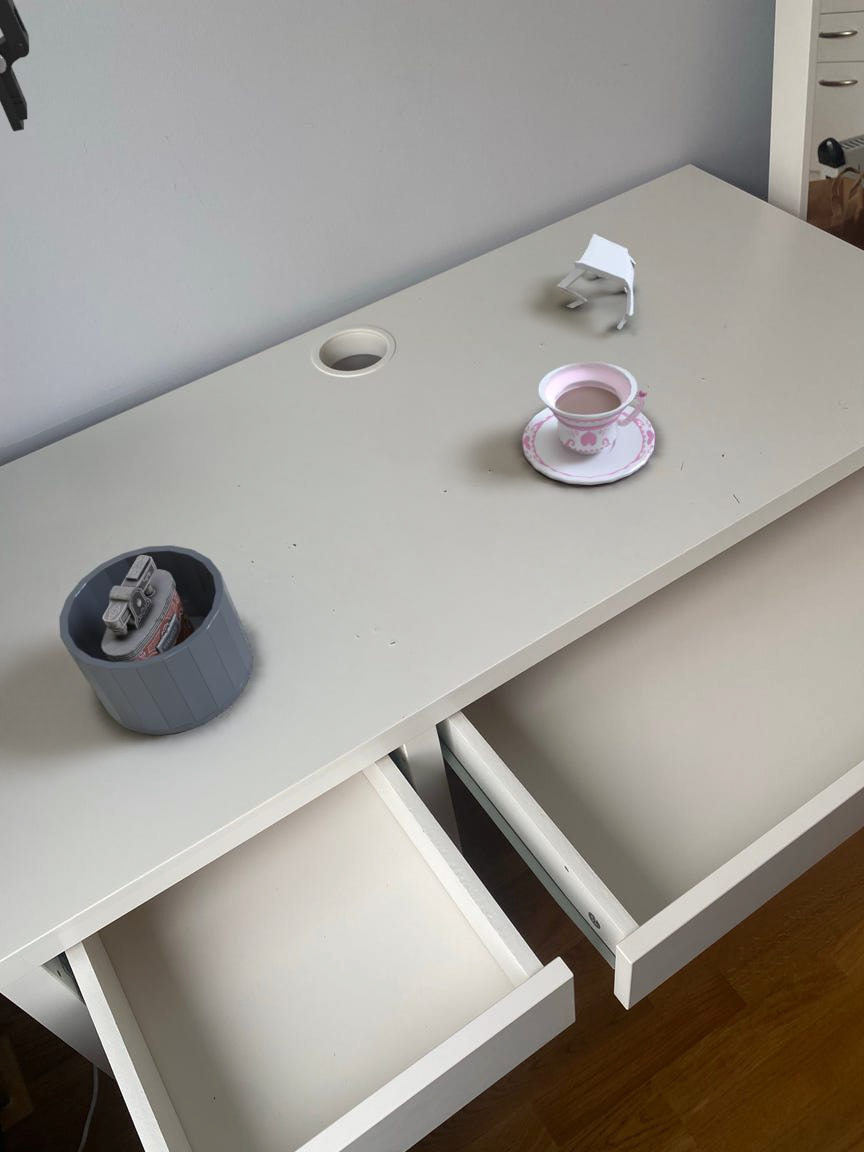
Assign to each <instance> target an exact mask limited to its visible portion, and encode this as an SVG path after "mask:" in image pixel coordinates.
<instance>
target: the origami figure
mask: <svg viewBox="0 0 864 1152" xmlns="http://www.w3.org/2000/svg"><path fill="white" fill-rule="evenodd" d="M573 264H574V267H575V269H573V270H572V271H571V272H570V273H569V274H568V275H566V276H565V277H564V278H563V279H562V280H561V281H559V283H558V284H556V287H557V288H560V289H562V291H565V292H567V293H569V294H571V295H572V296H574V297H576V298H577V299H578V300H575V301H574V302H571V303H569V304H567V305H566V307H567V308H570V309H574V308H576V307H578V306H580V305H582V304H584V303H586V302H588V299H587V298H585V297H584V296H583V295H581V294H580V293H579V292H577V291H576V290H574V288H572V287H570V286H571V285H572V284H573V283H575V282H576V281H577V280H578V279H580V278H581V277H582V276H583V275H584V274H586V273H587V272H589V273H591V274H594V275H596V276H597V277H598V278H604V279H607V280H610V281H612V282H614V283H618V284H620V285H621V288H622V291H623V292H624V293H626V294H627V296H626V298H627V299H626V308H625V309H626V310H625V312H626V313H625V314H624V316H623V318H622V319H621V320H620V322H618V325H617V326H616V329H618V331H619V330H621V329H623V327H624V326H625V323H626V322H627V320H628V318H630V317H631V316H632V315H634V278H635V268H636V266H637V263H636V261H635V260H634V259H633V258H632V257H631V255H630V254H629V249H628V247H625V246H622V245H620V244H617V243H615V242H612V241H611V240H608V239H606V238H604V237H601V236H599V235H598V234H596V233H593V234H592V237H591V239H590V241H589V244H588V246H587V248H586V250H585V251H584V253H583V254H582V256H581V258H580V259H579V260H575V261H573ZM626 287H627V288H626Z"/></svg>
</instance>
